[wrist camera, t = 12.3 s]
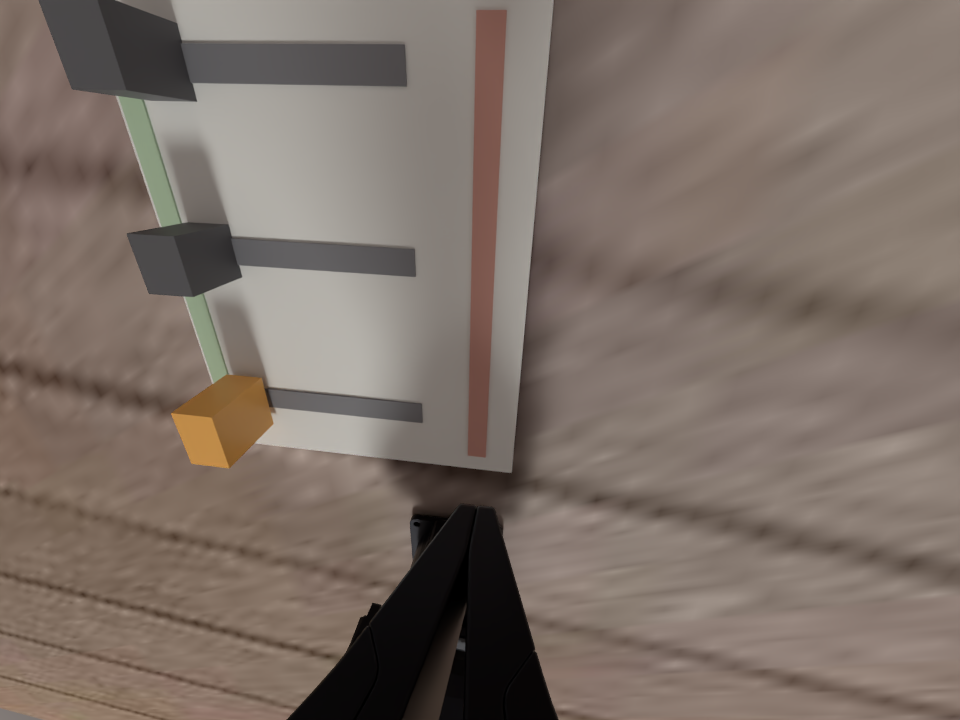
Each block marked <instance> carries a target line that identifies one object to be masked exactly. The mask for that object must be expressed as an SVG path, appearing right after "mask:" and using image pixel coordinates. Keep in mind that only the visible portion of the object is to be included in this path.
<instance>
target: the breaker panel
mask: <svg viewBox="0 0 960 720" xmlns="http://www.w3.org/2000/svg"><path fill="white" fill-rule="evenodd" d="M39 3H40V5H41V8H42V11H43V13H44V16H45V19H46V21H47V24H48V27H49V29H50V32H51V35H52V37H53V40H54V43H55V45H56V48H57V51H58V53H59V56H60V59H61V61H62V64H63V67H64V69H65V72H66V75H67V77H68V80H69V83H70V85H71V88H72V89H73V90H80V91H87V92H94V93H101V94H108V95H114V96H116V98H117V101H118V104H119V107H120V110H121V113H122V116H123V118H124V121H125V124H126V127H127V130H128V133H129V136H130V139H131V142H132V145H133V148H134V151H135V154H136V157H137V160H138V163H139V166H140V169H141V172H142V175H143V178H144V181H145V184H146V187H147V190H148V193H149V196H150V199H151V202H152V205H153V208H154V211H155V214H156V217H157V220H158V223H159V226H160V227H159V228H154V229H149V230H143V231H138V232H132V233H127V237H128V239H129V242H130V245H131V247H132V250H133V253H134V255H135V258H136V261H137V263H138V266H139V269H140V271H141V274H142V277H143V279H144V282H145V285H146V287H147V290H148V292H149V294H158V295H171V296H183V297H184V300H185V303H186V306H187V309H188V312H189V315H190V318H191V321H192V324H193V327H194V330H195V333H196V336H197V339H198V342H199V345H200V348H201V351H202V354H203V357H204V360H205V363H206V366H207V369H208V372H209V375H210V378H211V381H212V384H214V383H215V382H216V381H218V380H219V379H221V378H222V377H224V376H225V375H226V374H228V375H238V376H248V377H259V378H262V381H263V385H264V389H265V393H266V396H267V400H268V404H269V408H270V411H271V415H272V419H273V423H274V424H273V425H272V426H271V427H270V428H269V429H268V430H267V431H266V432H265V433H264V434H263V435H262V436H261V437H260V438H259V439H258V440H257V441H256V442H255V443H256V444H265V445H274V446H282V447H291V448H299V449H308V450H317V451H325V452H334V453H343V454H351V455H360V456H368V457H377V458H386V459H394V460H403V461H411V462H420V463H429V464H437V465H446V466H455V467H463V468H472V469H480V470H489V471H498V472H506V473H512V464H513V452H514V441H515V430H516V419H517V408H518V396H519V385H520V374H521V363H522V352H523V340H524V329H525V318H526V307H527V295H528V284H529V273H530V262H531V251H532V239H533V228H534V217H535V206H536V194H537V183H538V172H539V161H540V150H541V138H542V127H543V116H544V105H545V93H546V82H547V71H548V60H549V49H550V37H551V26H552V15H553V4H554V0H39Z"/></svg>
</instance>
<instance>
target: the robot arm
mask: <svg viewBox="0 0 960 720" xmlns="http://www.w3.org/2000/svg"><path fill="white" fill-rule="evenodd" d="M410 531H411V543H412V556H413V562H412V565H411V568H410V570H409V571H408V573H407V574H406V575H405V577H404V578H403V579H402V581H401V582H400V583H399V584H398V586H397V587H396V588H395V590H394V591H393V592H392V594H391V595H390V596H389V598H388V599H387V600H386V602H385V603H384V604H383V605H382V607H381V605H380V604H376V603H372V606H371V608H370V610H369V612H368V615H367V616H366V615H365V616H364V617H360V620H359V622H358V625H357V628H356V630H355V633H354V635H353V638H352V640H351V643H350V645H349V647H348V649H347V651H346V653H345V654H344V656H343V657H342V658H341V659H340V661H339V662H338V663H337V664H336V666H335V667H334V668H333V669H332V670H331V671H330V673H329V674H328V675H327V676H326V677H325V678H324V679H323V680H322V682H321V683H320V684H319V685H318V686H317V687H316V688H315V689H314V691H313V692H312V693H311V694H310V695H309V696H308V697H307V698H306V699H305V700H304V701H303V703H302V704H301V705H300V706H299V707H298V708H297V709H296V710H295V711H294V712H293V713H292V714H291V716H290V717H289V718H288V719H287V720H558V717H557V714H556V712H555V709H554V706H553V704H552V701H551V698H550V694H549V691H548V688H547V685H546V682H545V679H544V676H543V673H542V669H541V666H540V662H539V659H538V656H537V653H536V652H535V646H534V642H533V639H532V636H531V632H530V629H529V625H528V622H527V618H526V615H525V612H524V608H523V605H522V601H521V598H520V594H519V591H518V587H517V584H516V581H515V577H514V574H513V570H512V567H511V563H510V560H509V556H508V553H507V550H506V546H505V543H504V539H503V536H502V534H503V529H502V528H501V527H500V526H499V522H498V519H497V515H496V512H495V509H494V508H493V507H488V506H478V507H476V506H475V505H471V504H460V505H459V506H458V507H457V508H456V510H455V511H454V512H453V514H452V515H451V516H450V518H449V519H447V518H439V517H432V516H424V515H413V516H412V518H411V521H410Z"/></svg>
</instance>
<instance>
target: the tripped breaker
mask: <svg viewBox="0 0 960 720" xmlns="http://www.w3.org/2000/svg"><path fill="white" fill-rule="evenodd" d="M171 414H172V417H173V419H174V422H175V424H176V427H177V429H178V432H179V434H180V436H181V439H182V441H183V444H184V446H185V449H186V451H187V454H188V456H189V458H190V461H191V463H192V464H198V465H207V466H215V467H223V468H230V467H231V466H232V465H233V464H234V463H235V462H236V461H237V460H238V459H239V458H240V457H241V456H242V455H243V454H244V453H245V452H246V451H247V450H248V449H249V448H250V447H251V446H252V445H253V444H254V443H255V442H256V441H257V440H258V439H259V438H260V437H261V436H262V435H263V434H264V433H265V432H266V431H267V430H268V429H269V428H270V427H271V426H272V425H273V424H274V423H273V419H272V415H271V411H270V408H269V404H268V400H267V396H266V393H265V389H264V385H263V381H262V378H259V377H248V376H238V375H228V374H226V375H225V376H224V377H222V378H221V379H219V380H218V381H216V382H215V383H214V384H212V385H211V386H209V387H208V388H206V389H205V390H204V391H202V392H201V393H199V394H198V395H196V396H195V397H193V398H192V399H191V400H189V401H188V402H186V403H185V404H183V405H182V406H181V407H179V408H178V409H176V410H175V411H173V412H172V413H171Z"/></svg>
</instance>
